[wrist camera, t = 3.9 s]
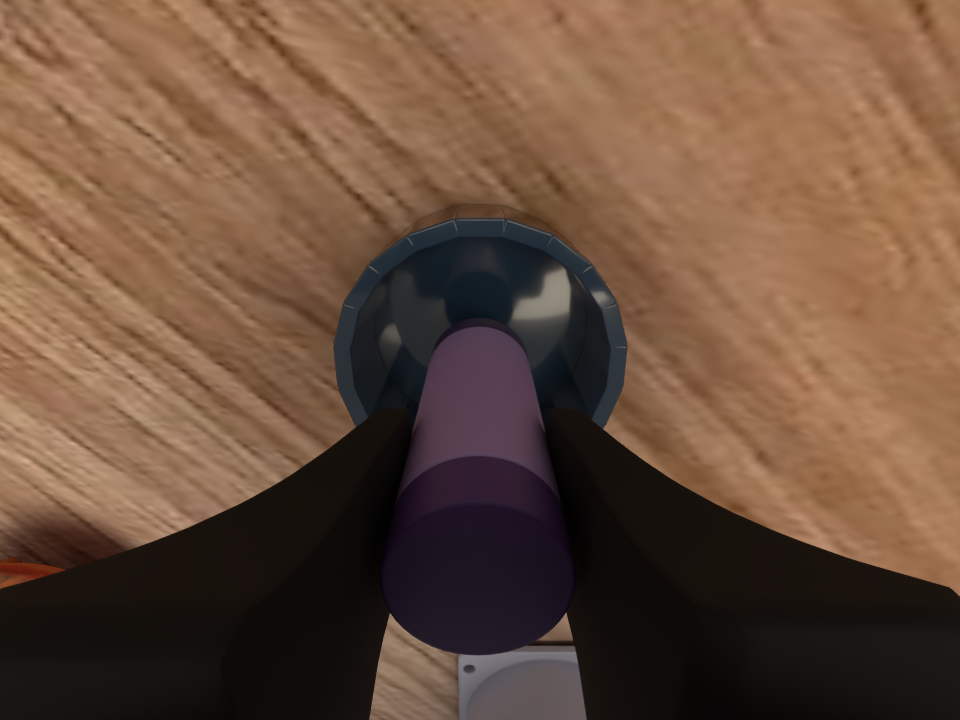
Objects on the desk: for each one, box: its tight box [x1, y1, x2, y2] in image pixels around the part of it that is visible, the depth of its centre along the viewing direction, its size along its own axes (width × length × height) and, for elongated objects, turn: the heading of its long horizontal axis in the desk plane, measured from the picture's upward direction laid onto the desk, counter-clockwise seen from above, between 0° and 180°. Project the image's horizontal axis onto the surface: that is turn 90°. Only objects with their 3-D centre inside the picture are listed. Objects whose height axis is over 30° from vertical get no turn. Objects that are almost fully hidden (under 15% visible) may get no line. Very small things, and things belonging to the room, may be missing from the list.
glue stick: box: [379, 318, 577, 656], centre depth 11 cm, size 3×3×8 cm
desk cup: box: [333, 204, 627, 435], centre depth 17 cm, size 8×8×4 cm
